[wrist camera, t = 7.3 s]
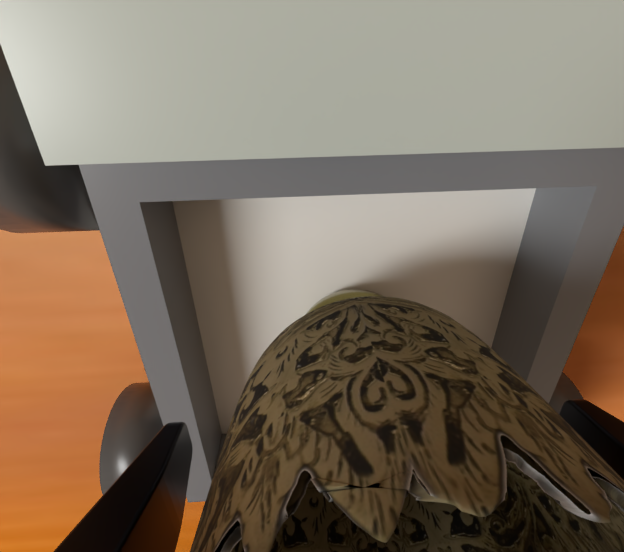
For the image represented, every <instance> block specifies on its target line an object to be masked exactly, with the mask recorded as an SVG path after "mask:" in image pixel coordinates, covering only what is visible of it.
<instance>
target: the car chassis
mask: <svg viewBox="0 0 624 552" xmlns="http://www.w3.org/2000/svg"><path fill="white" fill-rule="evenodd" d="M623 226H624V0H0V229H1V230H5V231H9V232H14V233H38V232H65V231H91V230H100V232H101V235H102V238H103V241H104V245H105V248H106V251H107V254H108V257H109V260H110V263H111V266H112V269H113V272H114V275H115V278H116V281H117V284H118V288H119V291H120V294H121V297H122V300H123V303H124V306H125V309H126V312H127V315H128V318H129V321H130V324H131V328H132V331H133V334H134V337H135V340H136V343H137V346H138V349H139V352H140V355H141V358H142V361H143V364H144V367H145V371H146V374H147V377H148V380H149V382H148V383H134V384H131V385H129V386H128V387H126V388H125V389H124V390H123V391H122V393H121V394H120V395H119V397H118V398H117V400H116V402H115V403H114V406H113V408H112V410H111V412H110V415H109V417H108V420H107V423H106V427H105V431H104V435H103V440H102V445H101V452H100V484H101V490H102V493H103V495H104V494H105V493H106V491H107V490H108V489H109V488H110V487H111V486H112V485H113V483H114V482H115V481H116V480H117V479H118V478H119V477H120V476H121V474H122V473H123V472H124V471H125V470H126V469H127V468H128V466H129V465H130V464H131V463H132V462H133V461H134V460H135V458H136V457H137V456H138V455H139V454H140V453H141V452H142V450H143V449H144V448H145V447H146V446H147V445H148V444H149V443H150V441H151V440H152V439H153V438H154V437H155V436H156V435H157V433H158V432H159V431H160V430H161V429H162V428H163V427H164V426H165V425H166V424H167V423H171V422H185V423H186V425H187V428H188V431H189V435H190V438H191V442H192V447H193V451H192V460H191V466H190V473H189V479H188V486H187V493H186V497H187V500H188V502H200V501H206V499H207V495H208V492H209V489H210V486H211V482H212V479H213V476H214V473H215V470H216V467H217V463H218V460H219V457H220V454H221V451H222V448H223V445H224V441H225V438H226V435H227V432H228V429H229V426H230V423H231V420H232V417H233V415H234V412H235V409H236V406H237V403H238V401H239V399H240V396H241V394H242V391H243V389H244V387H245V385H246V382H247V380H248V378H249V376H250V374H251V372H252V371H253V369H254V367H255V365H256V363H257V362H258V360H259V359H260V357H261V355H262V354H263V352H264V351H265V350H266V349H267V348H268V347H269V345H270V344H271V343H272V342H273V341H274V340H275V338H276V337H277V336H278V335H279V334H280V333H281V332H282V331H283V330H285V329H286V328H287V327H288V326H289V325H291V324H292V323H293V322H295V321H296V320H298V319H299V318H301V317H303V316H304V315H305V314H306V313H307V312H308V310H309V309H310V308H311V307H312V306H313V305H314V304H315V303H316V302H318V301H319V300H321V299H322V298H324V297H325V296H328V295H330V294H332V293H335V292H338V291H342V290H348V289H363V290H369V291H373V292H376V293H379V294H381V295H383V296H385V297H394V298H401V299H406V300H410V301H414V302H417V303H420V304H423V305H425V306H428V307H430V308H433V309H435V310H438V311H440V312H442V313H444V314H446V315H447V316H449V317H451V318H452V319H454V320H455V321H457V322H458V323H460V324H461V325H463V326H464V327H465V328H467V329H468V330H470V331H471V332H473V333H474V334H475V335H476V336H477V337H479V338H480V339H481V340H482V341H483V342H485V343H486V344H487V345H488V346H489V347H490V348H491V349H493V350H494V351H495V352H496V353H497V354H498V355H499V356H500V357H501V358H502V359H503V360H504V361H505V362H507V363H508V364H509V365H510V366H511V367H512V368H513V369H514V370H515V371H516V372H517V373H518V374H519V375H520V376H521V377H522V378H523V379H524V380H525V381H526V382H527V383H528V384H529V385H530V386H531V387H532V388H533V389H534V390H535V391H536V392H537V393H538V394H539V395H540V396H541V397H542V398H543V399H544V400H545V401H546V402H547V403H548V404H549V405H550V406H551V407H552V408H553V409H554V410H555V411H556V412H557V413H558V414H559V412H560V410H561V407H562V405H563V403H564V402H565V401H567V400H576V399H583V397H582V396H581V394H580V392H579V391H578V389H577V388H576V386H575V385H574V384H573V382H572V381H571V380H570V379H569V378H568V377H567V376H566V375H565V374H564V373H563V372H562V371H563V368H564V366H565V364H566V361H567V359H568V357H569V354H570V352H571V349H572V347H573V345H574V342H575V340H576V337H577V335H578V333H579V330H580V328H581V326H582V323H583V321H584V318H585V316H586V314H587V311H588V309H589V307H590V304H591V302H592V299H593V297H594V295H595V292H596V290H597V288H598V285H599V283H600V280H601V278H602V276H603V273H604V271H605V268H606V266H607V264H608V261H609V259H610V257H611V254H612V252H613V249H614V247H615V245H616V242H617V240H618V238H619V235H620V233H621V230H622V228H623ZM583 400H584V399H583Z"/></svg>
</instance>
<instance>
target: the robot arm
mask: <svg viewBox="0 0 624 552" xmlns="http://www.w3.org/2000/svg"><path fill="white" fill-rule="evenodd" d="M559 415H560V416H561V417H562V418H563V419H564V420H565V421H566V422H567V423H568V424H569V425H570V426H571V427H572V428H573V429H574V430H575V431H576V432H577V433H578V434H579V435H580V436H581V437H582V438H583V439H584V440H585V441H586V442H587V443H588V444H589V445H590V446H591V447H592V448H593V449H594V450H595V451H596V452H597V453H598V454H599V455H600V456H601V457H602V458H603V459H604V460H605V461H606V463H607V464H608V465H609V466H610V467H611V468H612V469H613V470H614V471H615V472H616V473H617V474H618V475H619V476H620V477H621V478H622V479H623V480H624V422H622V421H621V420H619V419H617V418H616V417H614V416H612V415H611V414H609V413H607V412H606V411H604V410H602V409H600V408H599V407H597V406H595V405H594V404H592V403H590V402H589V401H586V400H583V399H576V400H567V401H565V402H564V403H563V405H562V407H561V410H560V412H559ZM192 451H193V447H192V442H191V438H190V435H189V431H188V428H187V425H186V423H185V422H171V423H167V424H166V425H165V426H164V427H163V428H162V429H161V430H160V431H159V432H158V433H157V435H156V436H155V437H154V438H153V439H152V440H151V441H150V443H149V444H148V445H147V446H146V447H145V448H144V449H143V450H142V452H141V453H140V454H139V455H138V456H137V457H136V458H135V460H134V461H133V462H132V463H131V464H130V465H129V466H128V468H127V469H126V470H125V471H124V472H123V473H122V474H121V476H120V477H119V478H118V479H117V480H116V481H115V482H114V483H113V485H112V486H111V487H110V488H109V489H108V490H107V491H106V493H105V494H104V495H103V496H102V497H101V498H100V499H99V501H98V502H97V503H96V504H95V505H94V506H93V507H92V508H91V510H90V511H89V512H88V513H87V514H86V515H85V516H84V518H83V519H82V520H81V521H80V522H79V523H78V524H77V526H76V527H75V528H74V529H73V530H72V531H71V532H70V534H69V535H68V536H67V537H66V538H65V539H64V540H63V541H62V543H61V544H60V545H59V546H58V547H57V548H56V549H55V551H54V552H175V549H176V545H177V541H178V537H179V533H180V529H181V524H182V518H183V512H184V506H185V499H186V493H187V486H188V479H189V473H190V466H191V460H192Z"/></svg>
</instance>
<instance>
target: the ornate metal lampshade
mask: <svg viewBox="0 0 624 552" xmlns="http://www.w3.org/2000/svg"><path fill="white" fill-rule="evenodd" d="M190 552H624V480H623V479H622V478H621V477H620V476H619V475H618V474H617V473H616V472H615V471H614V470H613V469H612V468H611V467H610V466H609V465H608V464H607V463H606V461H605V460H604V459H603V458H602V457H601V456H600V455H599V454H598V453H597V452H596V451H595V450H594V449H593V448H592V447H591V446H590V445H589V444H588V443H587V442H586V441H585V440H584V439H583V438H582V437H581V436H580V435H579V434H578V433H577V432H576V431H575V430H574V429H573V428H572V427H571V426H570V425H569V424H568V423H567V422H566V421H565V420H564V419H563V418H562V417H561V416H560V415H559V414H558V413H557V412H556V411H555V410H554V409H553V408H552V407H551V406H550V405H549V404H548V403H547V402H546V401H545V400H544V399H543V398H542V397H541V396H540V395H539V394H538V393H537V392H536V391H535V390H534V389H533V388H532V387H531V386H530V385H529V384H528V383H527V382H526V381H525V380H524V379H523V378H522V377H521V376H520V375H519V374H518V373H517V372H516V371H515V370H514V369H513V368H512V367H511V366H510V365H509V364H508V363H507V362H505V361H504V360H503V359H502V358H501V357H500V356H499V355H498V354H497V353H496V352H495V351H494V350H493V349H491V348H490V347H489V346H488V345H487V344H486V343H485V342H483V341H482V340H481V339H480V338H479V337H477V336H476V335H475V334H474V333H473V332H471V331H470V330H468V329H467V328H465V327H464V326H463V325H461V324H460V323H458V322H457V321H455V320H454V319H452V318H451V317H449V316H447V315H446V314H444V313H442V312H440V311H438V310H435V309H433V308H430V307H428V306H425V305H423V304H420V303H417V302H414V301H410V300H406V299H401V298H394V297H385V296H383V295H381V294H379V293H376V292H373V291H369V290H363V289H348V290H342V291H338V292H335V293H332V294H330V295H328V296H325V297H324V298H322V299H321V300H319V301H318V302H316V303H315V304H314V305H313V306H312V307H311V308H310V309H309V310H308V312H307V313H306V314H305V315H304V316H303V317H301V318H299V319H298V320H296V321H295V322H293V323H292V324H291V325H289V326H288V327H287V328H286V329H285V330H283V331H282V332H281V333H280V334H279V335H278V336H277V337H276V338H275V340H274V341H273V342H272V343H271V344H270V345H269V347H268V348H267V349H266V350H265V351H264V352H263V354H262V355H261V357H260V359H259V360H258V362H257V363H256V365H255V367H254V369H253V371H252V372H251V374H250V376H249V378H248V380H247V382H246V385H245V387H244V389H243V391H242V394H241V396H240V399H239V401H238V403H237V406H236V409H235V412H234V415H233V417H232V420H231V423H230V426H229V429H228V432H227V435H226V438H225V441H224V445H223V448H222V451H221V454H220V457H219V460H218V463H217V467H216V470H215V473H214V476H213V479H212V482H211V486H210V489H209V492H208V495H207V499H206V502H205V505H204V508H203V511H202V515H201V518H200V521H199V524H198V528H197V531H196V534H195V538H194V541H193V544H192V547H191V551H190Z"/></svg>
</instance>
